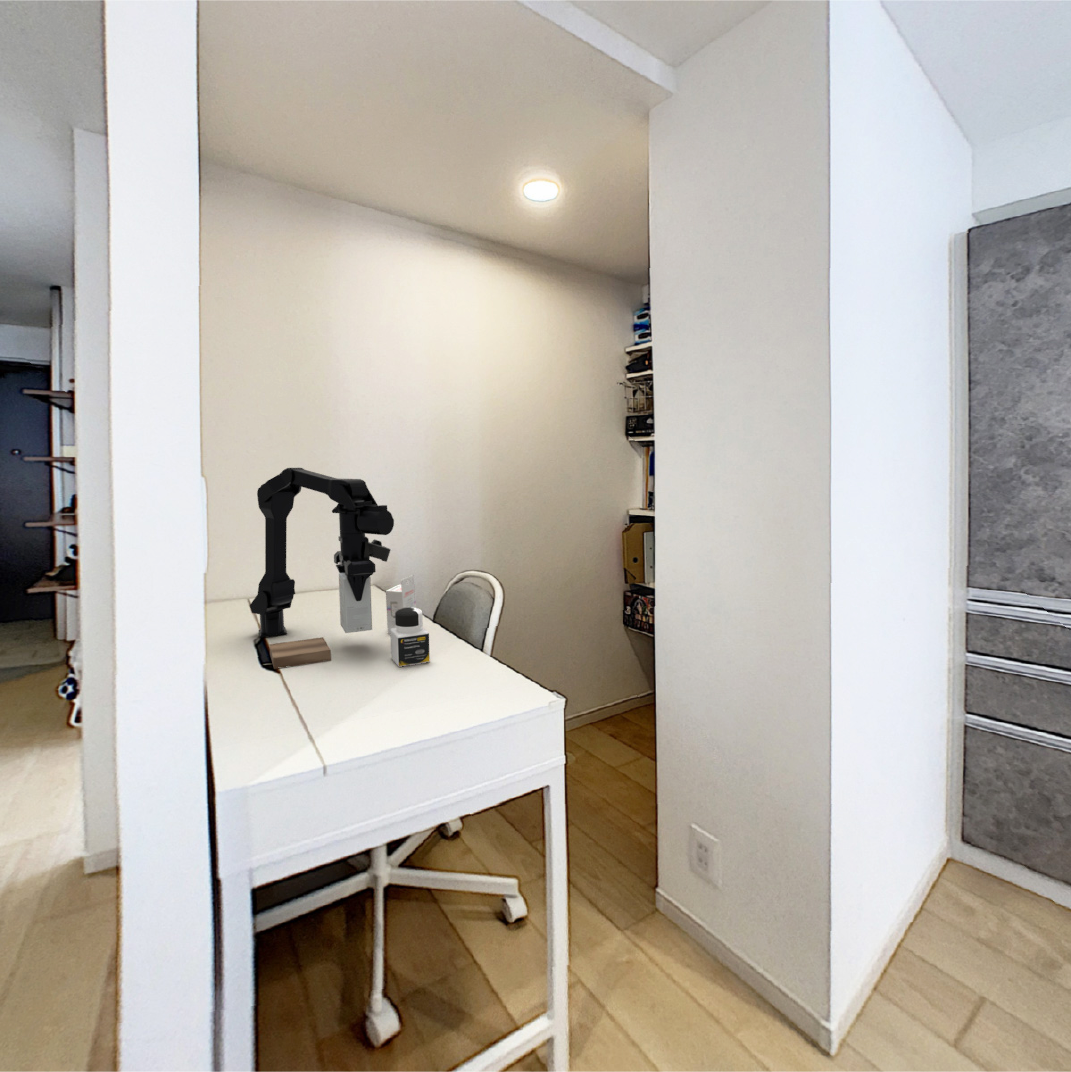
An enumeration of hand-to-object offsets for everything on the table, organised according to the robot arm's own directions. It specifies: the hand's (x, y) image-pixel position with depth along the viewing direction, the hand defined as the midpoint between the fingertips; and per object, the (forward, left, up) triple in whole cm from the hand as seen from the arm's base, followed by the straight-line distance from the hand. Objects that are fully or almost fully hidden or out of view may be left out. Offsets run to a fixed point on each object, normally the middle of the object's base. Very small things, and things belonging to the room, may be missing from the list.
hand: (355, 597), depth 143 cm
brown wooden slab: (0, -13, -13) cm, 18 cm away
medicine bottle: (+14, +9, -13) cm, 21 cm away
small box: (0, 0, -8) cm, 8 cm away
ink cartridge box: (-11, +14, -13) cm, 22 cm away
